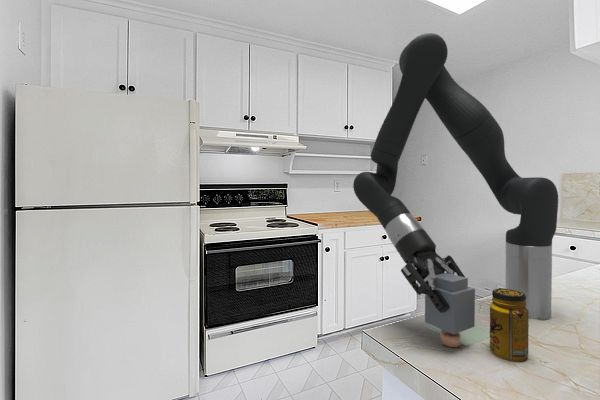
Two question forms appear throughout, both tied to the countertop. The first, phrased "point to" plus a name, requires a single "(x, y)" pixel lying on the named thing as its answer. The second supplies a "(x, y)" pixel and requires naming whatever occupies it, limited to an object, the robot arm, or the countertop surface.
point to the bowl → (450, 339)
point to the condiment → (509, 325)
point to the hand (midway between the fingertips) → (457, 306)
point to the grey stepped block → (452, 304)
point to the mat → (468, 334)
